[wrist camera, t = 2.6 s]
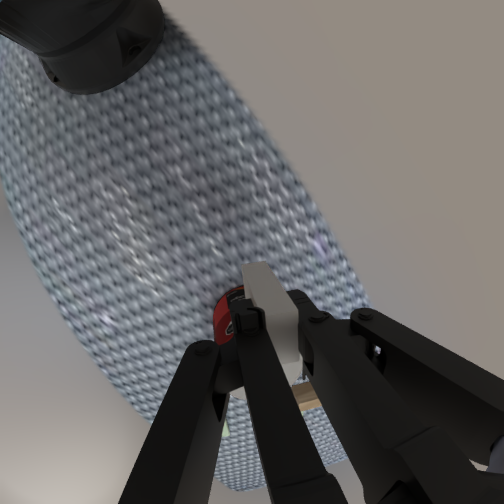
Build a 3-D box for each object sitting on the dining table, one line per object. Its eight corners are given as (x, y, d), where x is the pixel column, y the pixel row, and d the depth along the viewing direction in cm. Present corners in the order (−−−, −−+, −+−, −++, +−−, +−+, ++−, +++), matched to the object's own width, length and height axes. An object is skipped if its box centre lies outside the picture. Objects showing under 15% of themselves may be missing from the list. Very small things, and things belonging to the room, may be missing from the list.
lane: (190, 345, 33) (189, 364, 29) (331, 319, 35) (344, 334, 31) (209, 408, 36) (211, 427, 33) (327, 384, 39) (336, 401, 35)
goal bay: (213, 410, 37) (213, 417, 35) (300, 394, 38) (303, 400, 37) (220, 430, 38) (221, 436, 37) (300, 415, 40) (302, 421, 39)
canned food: (286, 295, 33) (320, 347, 22) (258, 346, 34) (277, 406, 24) (229, 273, 31) (241, 324, 20) (203, 329, 32) (204, 391, 22)
